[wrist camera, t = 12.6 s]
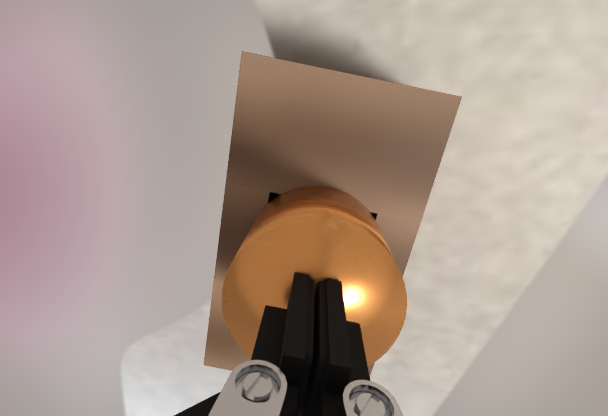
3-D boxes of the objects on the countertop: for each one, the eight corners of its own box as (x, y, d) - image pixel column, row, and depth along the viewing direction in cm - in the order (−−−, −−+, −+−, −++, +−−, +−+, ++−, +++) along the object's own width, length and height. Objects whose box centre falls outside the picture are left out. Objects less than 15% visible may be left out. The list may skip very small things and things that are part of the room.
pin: (274, 153, 20) (233, 203, 10) (378, 174, 20) (431, 242, 10) (259, 248, 22) (212, 362, 12) (353, 267, 22) (378, 394, 12)
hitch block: (265, 66, 19) (241, 51, 13) (419, 97, 19) (461, 97, 13) (231, 301, 24) (203, 365, 18) (353, 325, 24) (363, 395, 18)
